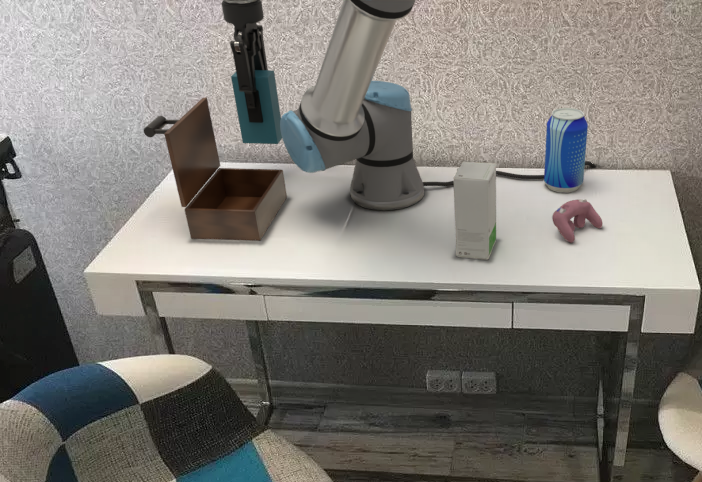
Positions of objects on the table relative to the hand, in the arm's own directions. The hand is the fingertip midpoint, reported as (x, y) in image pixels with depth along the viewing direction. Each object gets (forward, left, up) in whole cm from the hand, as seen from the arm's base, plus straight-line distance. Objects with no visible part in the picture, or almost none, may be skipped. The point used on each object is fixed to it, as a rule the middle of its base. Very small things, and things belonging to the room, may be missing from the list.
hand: (260, 117), depth 165 cm
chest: (0, +20, -14) cm, 24 cm away
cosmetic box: (-47, +29, -14) cm, 57 cm away
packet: (0, 0, -5) cm, 5 cm away
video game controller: (-66, +21, -14) cm, 71 cm away
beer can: (-64, 0, -14) cm, 66 cm away
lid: (+6, +20, 0) cm, 21 cm away
